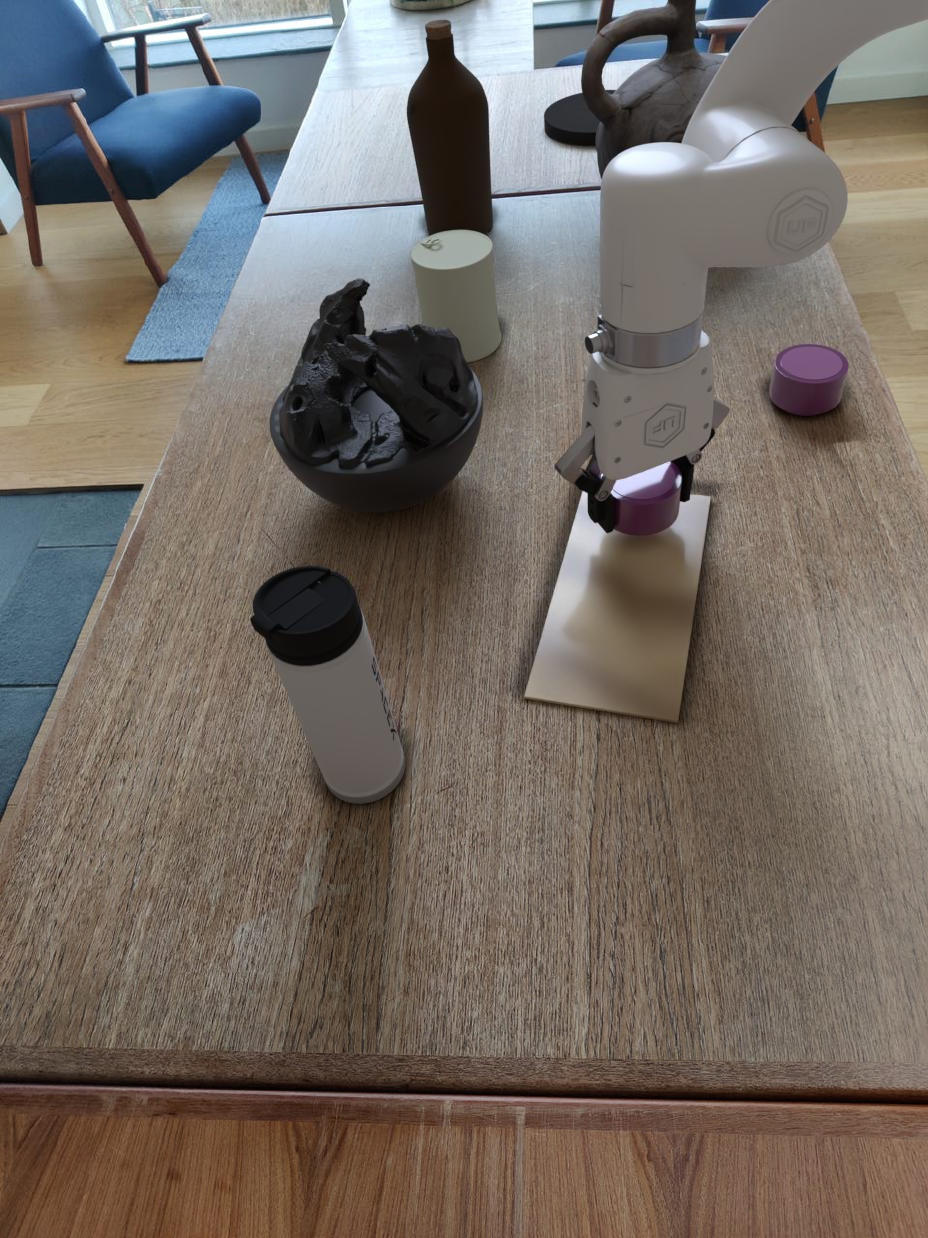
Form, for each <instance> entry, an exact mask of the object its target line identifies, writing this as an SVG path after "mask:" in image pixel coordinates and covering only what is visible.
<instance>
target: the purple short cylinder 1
mask: <svg viewBox="0 0 928 1238" xmlns="http://www.w3.org/2000/svg"><path fill="white" fill-rule="evenodd" d="M602 476H603V474H602V473H601V472H600V477H599V478H600V479H601V478H602ZM681 489H682V473H681V471H680V469H679V468H678V466H677V465H676V464H675V463H674V462H672V461H670V462H667V463H665V464H662V465H659V466H657V467H654V468H652V469H649V470H646V471H644V472H641V473H639V474H636V475H633V476H630V477H628V478H624V479H620V480H617V481H616V483H615V485H614V487H613V489H612V491H611V494H612V495H613V496H614V497H615V528H614V530H616V531H618V532H621V533H624V534H628V535H635V536H645V535H652V534H656V533H659V532H662V531H664V530H666V529H667V528H669V527H670V526H671V525H672V524H673V523H674V522H675V521H676V519H677V517H678V515H679V508H680V499H681Z"/></svg>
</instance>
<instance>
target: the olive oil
mask: <svg viewBox="0 0 928 1238" xmlns="http://www.w3.org/2000/svg"><path fill="white" fill-rule="evenodd" d="M424 28H425V29H424V30H425V33H426V37H425V45H426V51H427V61H426V63H425V64H424V67H423V68H422V70H421V72H420V73H419V75H418V76H417V78H416V79H415V81H414V83H413V85H412V86H411V88H410V91H409V93H408V97H407V103H406V121H407V125H408V132H409V136H410V141H411V146H412V152H413V157H414V162H415V166H416V168H415V169H416V173H417V178H418V183H419V188H420V189H419V190H420V194H421V195H420V196H421V201H422V206H423V213H424V216H425V217H424V218H425V224H426V231H427V233H428V235H429V236H431V235H433V234H437V233H440V232H445V231H451V230H470V231H475V232H479V233H482V234H484V235H486V234H487V233H489V231H491V229H492V228H493V226H494V213H493V194H492V172H491V171H492V170H491V145H490V143H491V141H490V139H491V138H490V109H489V107H490V106H489V101H488V97H487V94H486V92H485V89H484V86H483V84H482V83H481V81H480V80H479V79H478V77H476V76H475V74H474V73H473V72H472V71H470V70H469V69H468V68H467V67H466V66H465V65H464V64H463V63H462V62H461V61H460V60H459V59H458V58H457V56H456V54H455V42H454V34H453V33H452V22H451V20H449V19H435V20H432V21H429V22H427V23H426V24H425V25H424Z"/></svg>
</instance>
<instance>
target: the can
mask: <svg viewBox="0 0 928 1238" xmlns="http://www.w3.org/2000/svg"><path fill="white" fill-rule="evenodd" d="M410 259H411V263H412V268H413V273H414V279H415V280H414V281H415V284H416V285H415V286H416V291H417V297H418V305H419V310H420V317H421V325H425V326H431V327H433V328H444V327H447V328H449V329H450V331H451V332H452V333H453V334H454V336H456V337H457V338H458V340H459V342H460V344H461V349H462V353H463V355H464V357H465V359H466V361H467V363H468V364H469V363H473V362H477V361H480V360H482V359H485V358H486V357H488V356H490V355H492V354H493V353H495V351H496V350H498V348H499V347H500V345H501V342H502V333H501V331H500V325H499V314H498V303H497V302H498V301H497V292H496V291H497V290H496V280H495V278H496V277H495V266H494V265H495V264H494V244H493V241H492V240H491V238H489V237H488V236H487V235H486V234H482V233H479V232H475V231H470V230H451V231H445V232H440V233H437V234H433V235H431V236H430V235H429V236H426V237H424V238H422V239H421V240H420V241H418V242H417V243H416V244H415V245H414V246H413V247H412V249H411V252H410Z"/></svg>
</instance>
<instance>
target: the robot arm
mask: <svg viewBox="0 0 928 1238" xmlns="http://www.w3.org/2000/svg"><path fill="white" fill-rule="evenodd" d="M924 21H928V0H768V1H767V2H766V4H764V5H763V6H762V7H761V9H760V10H759V11H758V12H757V13H756V14H755V15H754V17H753V18H752V19H751V21H749V23H748V24H747V25H746V27H745V28H744V30H742V32H741V33H740V35H739V36H738V38H737V39H736V41H735V42H734V43H733V45H732V47H731V48H730V50H729V52H728V53H727V55H725V56H726V58H725V60H724V61H723V63H722V65H721V66H720V68H719V70H718V71H717V73H716V75H715V76H714V78H713V80H712V81H711V83H710V85H709V86H708V88H707V90H706V91H705V93H704V95H703V97H702V98H701V100H700V102H699V104H698V106H697V108H696V110H695V112H694V114H693V115H692V117H691V119H690V122H689V124H688V126H687V129H686V132H685V134H684V137H683V140H682V143H672V142H658V143H649V144H643V145H639V146H635V147H632V148H629V149H627V150H625V151H623V152H621V153H620V154H618V155H617V156H616V157H614V158H613V159H612V160H611V161H610V163H609V164H608V166H607V167H606V169H605V171H604V174H603V177H602V180H601V181H600V195H599V197H600V198H599V284H598V285H599V291H598V292H599V295H598V296H599V297H598V298H599V299H598V304H599V305H598V309H599V310H598V315H597V321H596V322H597V328H596V330H595V331H593V332H592V334H589V335H586V336H585V338H584V345H585V349H586V351H587V353H588V354H590V358H589V362H588V368H587V372H586V377H585V383H584V390H583V398H582V408H581V409H582V410H581V425H580V426H581V427H580V428H581V429H580V431H581V433H580V435H579V436H578V437H577V438H576V439H575V441H573V443H572V444H571V445H570V446H569V448H568V449H567V450H566V451H565V452H564V453H563V454H562V456H561V457H560V458H559V459H557V461H556V462H555V464H554V470H555V471H556V472H557V473H558V474H559V475H560V477H561V478H562V479H564V480H565V481H567V482H568V483H569V484H571V485H574V486H575V487H577V489H578V490H580V491H581V492H582V491H584V492H586V493H588V515H589V517H590V519H591V520H592V521H593V522H594V523H598V524H599V525H600V526H601V527H602V529H603V530H604V531H605V532H606V533H610V532H612V531H613V529H614V528H615V497H614V496H613V495H612V494H611V491H612V489H613V487H614V485H615V483H616V481H617V480H620V479H624V478H628V477H630V476H633V475H636V474H639V473H641V472H644V471H646V470H649V469H652V468H654V467H657V466H659V465H662V464H665V463H667V462H670V461H672V462H674V463H675V464H676V465H677V466H678V468H679V469H680V471H681V473H682V489H681V499H680V501H681V502H686V501H689V500H690V494H691V493H692V485H693V482H694V472H695V465H697V464H698V463H700V462H701V461H702V459H703V453H702V451H703V450H704V449H705V448H706V446H707V445H708V444H709V443H710V442H711V441H712V440H713V438H714V437H715V435H716V429H718V428H719V427H720V426H721V424H723V422H724V420H725V419H726V418H727V417H728V415H729V413H730V410H731V409H730V407H729V406H728V405H726V404H725V403H724V402H723V401H722V400H720V399H718V398H717V397H715V395H714V394H715V375H714V364H713V355H712V347H711V341H710V337H709V335H708V334H707V333H706V332H705V331H703V321H704V320H703V319H704V311H705V301H706V292H707V283H708V274H709V269H711V268H770V267H780V266H784V265H789V264H795V263H797V262H799V261H802V260H804V259H806V258H808V257H811V256H812V255H813V254H816V253H817V252H818V251H820V250H821V249H822V248H823V247H824V246H825V245H827V243H829V242H830V241H831V240H832V239H833V237H834V236H835V235H836V233H837V232H838V230H839V229H840V227H841V225H842V223H843V221H844V219H845V216H846V214H847V208H848V201H849V200H848V197H849V196H848V194H849V193H848V188H847V183H846V179H845V177H844V175H843V173H842V172H841V170H840V167H839V166H838V165H837V164H836V162H835V161H834V160H833V159H832V158H831V157H830V156H829V155H828V154H826V152H824V150H822V148H820V147H818V146H817V145H815V144H814V143H813V142H812V141H810V140H809V139H808V138H806V137H805V135H803V134H802V133H801V132H800V131H799V130H798V129H796V128H795V127H794V126H793V125H792V124H793V123H794V122H795V120H796V119H797V117H798V116H799V114H800V113H801V111H802V109H803V108H804V106H806V104H807V102H808V101H809V100H810V99H811V97H812V96H813V94H814V93H815V91H816V90H817V89H818V88H819V86H820V85H821V84H822V83H823V82H824V80H826V78H827V77H828V76H829V75H830V74H831V73H832V72H833V71H834V70H835V69H836V68H837V67H838V66H839V65H840V64H841V63H842V62H844V60H846V59H847V58H848V57H850V56H851V55H852V54H854V53H855V52H857V50H859V49H860V48H862V47H864V46H865V45H867V44H869V43H870V42H872V41H874V40H876V39H877V38H880V37H882V36H884V35H887V34H889V33H891V32H893V31H896V30H899V29H902V28H905V27H908V26H911V25H914V24H918V23H922V22H924ZM589 458H590V459H589ZM588 459H589V460H588ZM587 460H588V463H587V466H586V468H585V469H583V468H582V466H583V465H584V463H586V462H587ZM601 473H602V474H603V476H602V478H601V479H600V477H599V475H600V474H601Z"/></svg>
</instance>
